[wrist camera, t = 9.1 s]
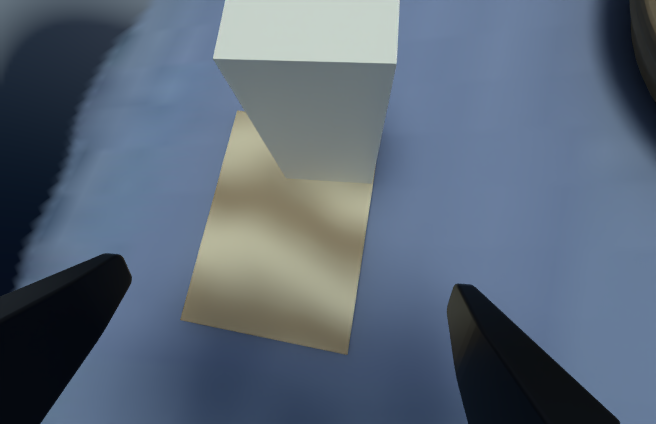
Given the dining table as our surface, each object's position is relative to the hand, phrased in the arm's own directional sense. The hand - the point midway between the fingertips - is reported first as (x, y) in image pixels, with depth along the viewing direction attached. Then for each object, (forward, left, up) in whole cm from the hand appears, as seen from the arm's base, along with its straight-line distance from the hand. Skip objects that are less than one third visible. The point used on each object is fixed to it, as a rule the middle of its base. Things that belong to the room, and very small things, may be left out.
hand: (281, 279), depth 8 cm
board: (+3, +3, -10) cm, 11 cm away
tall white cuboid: (+9, +1, -10) cm, 13 cm away
